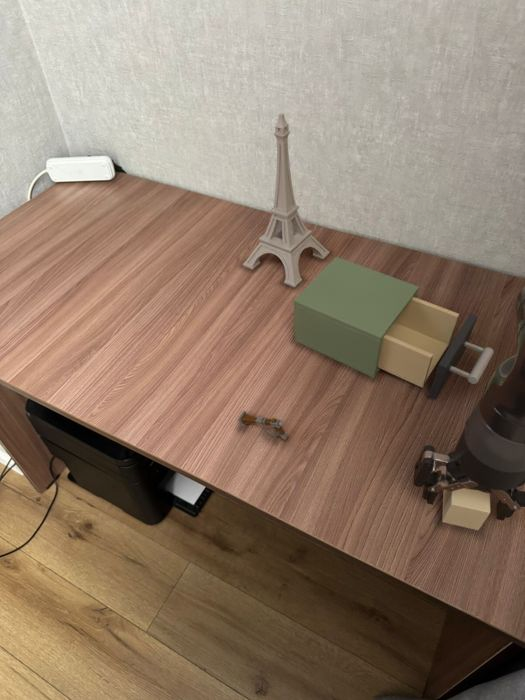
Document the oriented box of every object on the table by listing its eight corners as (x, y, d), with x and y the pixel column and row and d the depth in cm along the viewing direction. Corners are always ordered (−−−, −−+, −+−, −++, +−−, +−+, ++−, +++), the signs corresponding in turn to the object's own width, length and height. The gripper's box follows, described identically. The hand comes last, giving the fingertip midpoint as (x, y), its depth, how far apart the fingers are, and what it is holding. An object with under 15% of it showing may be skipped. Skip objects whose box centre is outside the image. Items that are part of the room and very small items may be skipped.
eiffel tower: (242, 265, 103) (225, 121, 80) (278, 234, 109) (272, 93, 87) (294, 287, 97) (291, 138, 74) (329, 252, 103) (336, 107, 81)
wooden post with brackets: (289, 445, 72) (277, 424, 69) (249, 437, 77) (236, 418, 74) (295, 435, 73) (283, 415, 70) (255, 428, 78) (242, 409, 75)
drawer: (491, 359, 80) (506, 326, 74) (463, 412, 73) (476, 380, 68) (386, 317, 88) (392, 284, 82) (352, 361, 82) (356, 328, 76)
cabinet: (409, 328, 87) (419, 286, 80) (374, 378, 80) (380, 337, 73) (333, 297, 94) (335, 256, 87) (294, 341, 87) (293, 300, 80)
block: (478, 498, 65) (489, 479, 61) (478, 530, 62) (490, 512, 58) (443, 490, 66) (452, 471, 62) (442, 522, 64) (451, 504, 59)
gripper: (430, 454, 50) (405, 519, 62) (583, 486, 47) (525, 547, 59) (433, 397, 55) (409, 468, 67) (572, 422, 51) (521, 491, 63)
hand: (464, 505), depth 63 cm, fingers open, 8 cm apart
